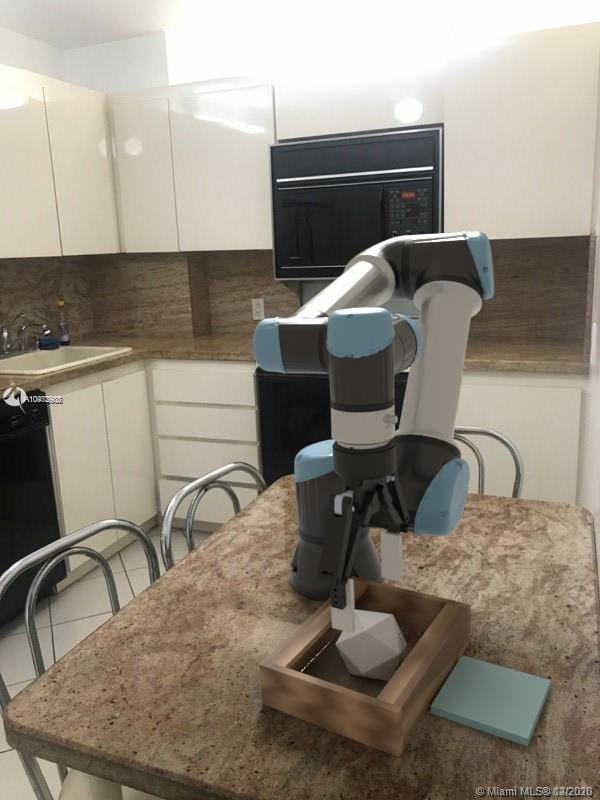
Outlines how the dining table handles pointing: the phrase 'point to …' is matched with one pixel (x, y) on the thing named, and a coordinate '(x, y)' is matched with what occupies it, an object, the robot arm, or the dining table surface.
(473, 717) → the pad
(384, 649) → the die
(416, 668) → the wooden tray
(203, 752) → the dining table surface
